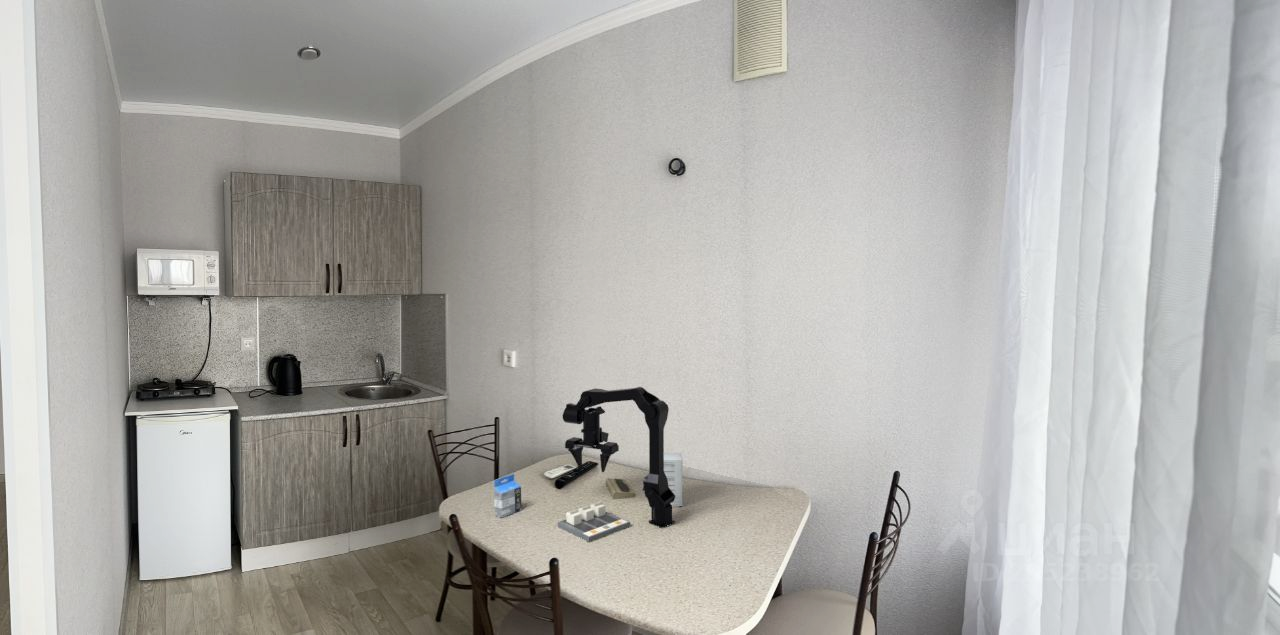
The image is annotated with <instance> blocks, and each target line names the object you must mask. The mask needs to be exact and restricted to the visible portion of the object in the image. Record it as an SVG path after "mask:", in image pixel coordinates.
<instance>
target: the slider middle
mask: <svg viewBox="0 0 1280 635" xmlns="http://www.w3.org/2000/svg"><path fill="white" fill-rule="evenodd" d="M578 512H579V513H581V514H582V519H583V520H585V521H588V520H591V519H594V510H593V509H591V504H587V505H585V506H582V507H580V508H578Z"/></svg>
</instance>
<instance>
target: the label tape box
mask: <svg viewBox="0 0 1280 635" xmlns="http://www.w3.org/2000/svg"><path fill="white" fill-rule="evenodd" d="M504 480H505V481H504ZM493 486H494V487H493V497H494V498H493V499H494V500H493V501H494V516H495V515H496V516H495V517H497V516H499V517H498V518H500V517H502V518H501V519H503V518H506V517H508V516H510V515H513V514H515V513H517V512H520V511H522V510H523V509H522V506H523V505H522V487H521V485H519V483H517V482H516V481H515V473H512V474H510V475H506V476H503V477H500V478H497V479H494V480H493ZM507 515H508V516H507ZM505 516H506V517H505Z"/></svg>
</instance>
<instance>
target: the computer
mask: <svg viewBox="0 0 1280 635" xmlns="http://www.w3.org/2000/svg"><path fill="white" fill-rule="evenodd" d="M605 487H607V490H608V492H609V494H610V496H611V497H612V499H613V500H621V499H634V498H635V492H634V491H633V490H632V488H631V486H630V485H629V483H628V482H627V480H626V479H625V478H611V477H610V478H606V480H605Z"/></svg>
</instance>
